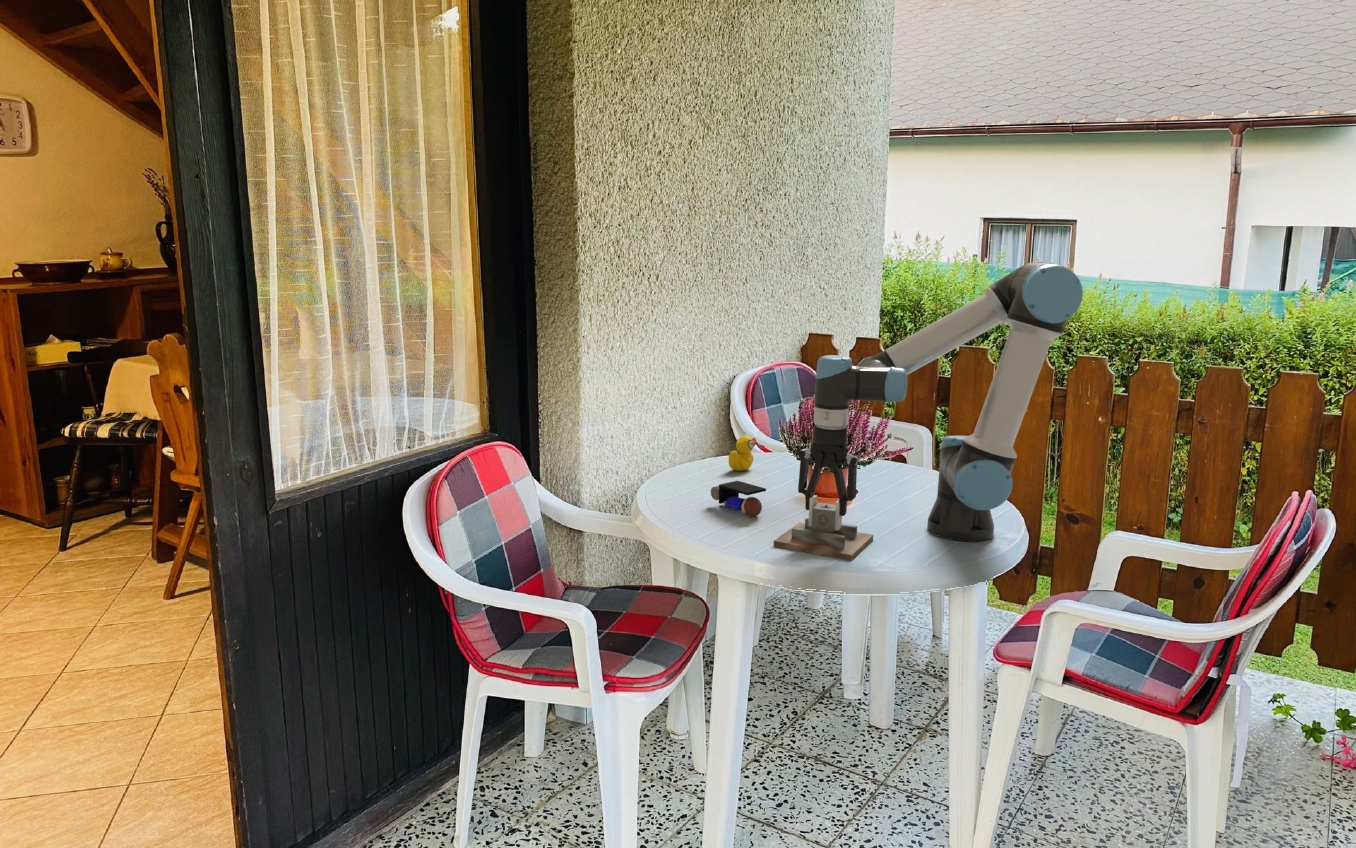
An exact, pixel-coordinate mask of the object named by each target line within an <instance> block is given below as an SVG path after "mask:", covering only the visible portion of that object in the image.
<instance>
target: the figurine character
mask: <svg viewBox="0 0 1356 848" xmlns="http://www.w3.org/2000/svg"><path fill="white" fill-rule="evenodd" d="M764 492H767V488H765V487H763V486H758V485H754V484H751V483H747V482H744V481H741V480H733V481H729V482H726V483H725V482H724V483H721V484H718V485H716V486H712V487H711V489H710V496H711V497H712V499H713V500H714V501H718V504H719V507H720V508H722V509H733V510H736V511H741V512H742V513H743V514H744V515H745V516H746V517H749V518H754V517H758V516H759V515H760V514H761V512H762V510H763V504H762V501H761V500H760V499H759V498H758V497H755V496H751V495H755V494H759V493H764ZM740 494H741V495H745V496H749V497H746V498H742V497H740V496H739V495H740ZM722 504H723V505H722Z"/></svg>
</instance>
